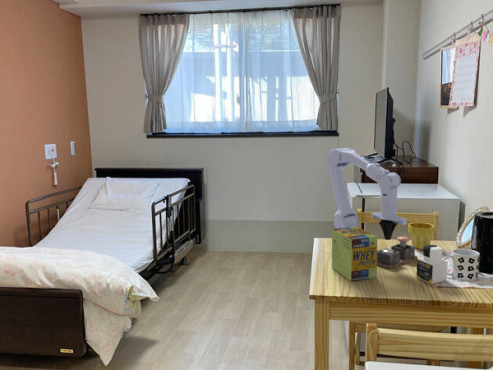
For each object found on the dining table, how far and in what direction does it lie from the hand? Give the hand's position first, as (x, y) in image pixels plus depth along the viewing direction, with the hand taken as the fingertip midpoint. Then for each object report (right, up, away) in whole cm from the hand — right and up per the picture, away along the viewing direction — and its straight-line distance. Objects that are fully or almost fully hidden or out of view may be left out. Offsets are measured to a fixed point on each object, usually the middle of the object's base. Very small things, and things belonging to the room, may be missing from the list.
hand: (387, 239), depth 165 cm
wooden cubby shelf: (+4, -9, +4) cm, 11 cm away
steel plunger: (0, -8, +1) cm, 9 cm away
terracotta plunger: (+8, -4, +7) cm, 11 cm away
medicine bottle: (+11, -12, -14) cm, 22 cm away
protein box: (-15, -12, -6) cm, 20 cm away
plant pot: (+21, -6, +21) cm, 30 cm away
